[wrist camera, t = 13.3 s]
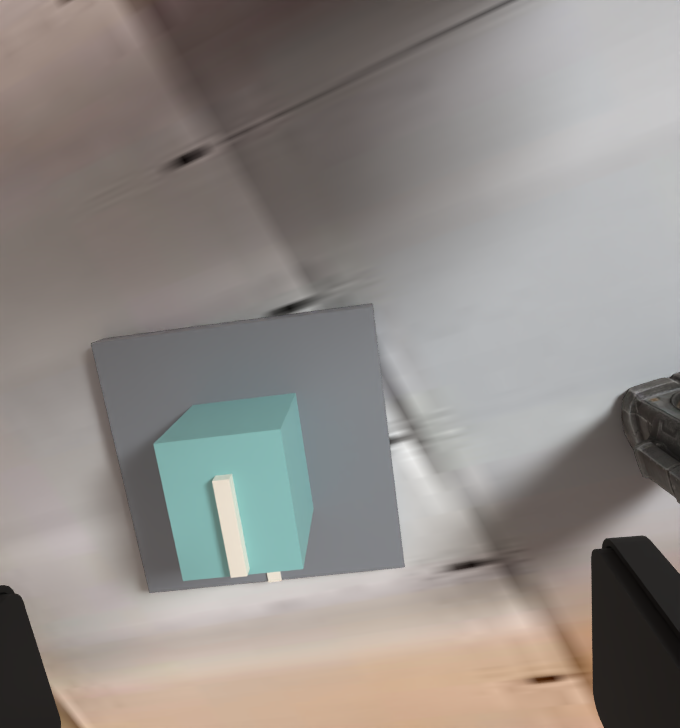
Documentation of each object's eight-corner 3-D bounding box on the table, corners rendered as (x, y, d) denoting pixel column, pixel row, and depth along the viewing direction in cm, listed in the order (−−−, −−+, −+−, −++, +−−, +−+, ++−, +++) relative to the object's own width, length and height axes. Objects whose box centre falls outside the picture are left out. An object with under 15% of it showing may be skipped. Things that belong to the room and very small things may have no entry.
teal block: (192, 405, 32) (148, 448, 25) (295, 392, 31) (278, 433, 24) (215, 519, 33) (179, 588, 26) (313, 508, 33) (302, 576, 26)
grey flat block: (102, 338, 32) (46, 360, 27) (372, 303, 31) (375, 317, 26) (158, 578, 36) (118, 644, 30) (402, 553, 35) (411, 616, 29)
